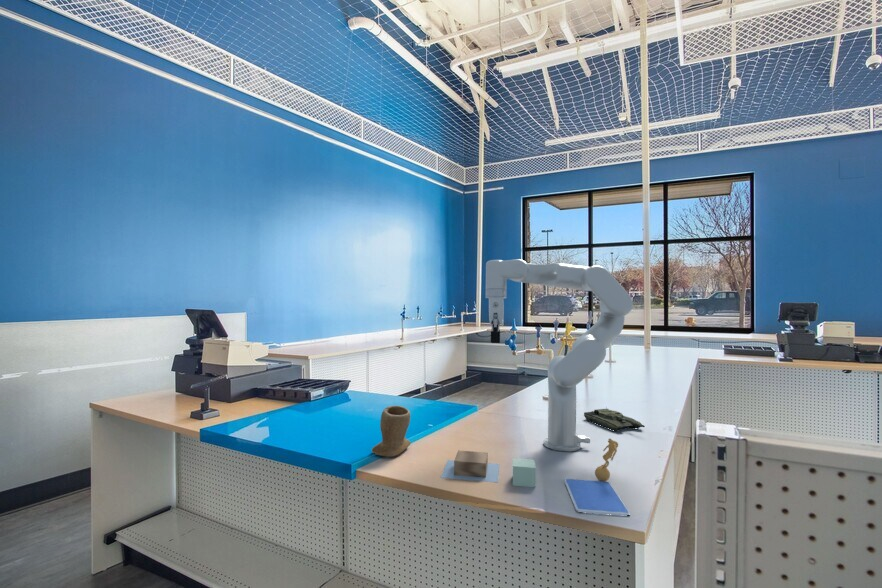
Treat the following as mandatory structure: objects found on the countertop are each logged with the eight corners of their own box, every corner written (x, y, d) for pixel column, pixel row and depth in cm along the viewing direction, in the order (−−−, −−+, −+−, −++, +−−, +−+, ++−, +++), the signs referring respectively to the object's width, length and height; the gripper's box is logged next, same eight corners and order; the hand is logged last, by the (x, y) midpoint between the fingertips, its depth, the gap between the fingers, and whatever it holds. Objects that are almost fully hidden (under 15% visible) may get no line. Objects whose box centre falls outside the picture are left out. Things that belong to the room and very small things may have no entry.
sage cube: (534, 481, 121) (534, 459, 121) (535, 490, 115) (535, 467, 115) (512, 479, 122) (512, 458, 122) (512, 488, 116) (512, 466, 116)
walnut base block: (487, 465, 130) (487, 452, 130) (485, 477, 121) (485, 463, 121) (458, 463, 131) (458, 450, 132) (453, 475, 123) (454, 460, 123)
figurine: (591, 474, 126) (592, 433, 127) (612, 476, 126) (614, 434, 126) (598, 486, 118) (599, 441, 118) (621, 488, 117) (622, 443, 118)
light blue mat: (499, 466, 132) (499, 463, 132) (497, 485, 118) (497, 482, 118) (447, 462, 134) (447, 459, 134) (440, 480, 121) (440, 477, 121)
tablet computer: (563, 482, 122) (563, 477, 122) (609, 485, 121) (609, 480, 121) (576, 515, 103) (576, 509, 103) (631, 519, 101) (631, 513, 101)
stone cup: (399, 462, 134) (400, 413, 135) (366, 456, 139) (367, 409, 139) (420, 447, 148) (420, 403, 149) (389, 442, 153) (390, 400, 153)
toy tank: (608, 417, 192) (608, 395, 193) (658, 436, 166) (658, 410, 166) (582, 420, 188) (582, 397, 188) (628, 439, 161) (629, 412, 162)
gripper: (506, 293, 147) (506, 344, 146) (506, 295, 164) (505, 340, 163) (484, 293, 148) (484, 343, 147) (486, 294, 165) (485, 339, 165)
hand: (495, 341), depth 155 cm, fingers open, 9 cm apart
